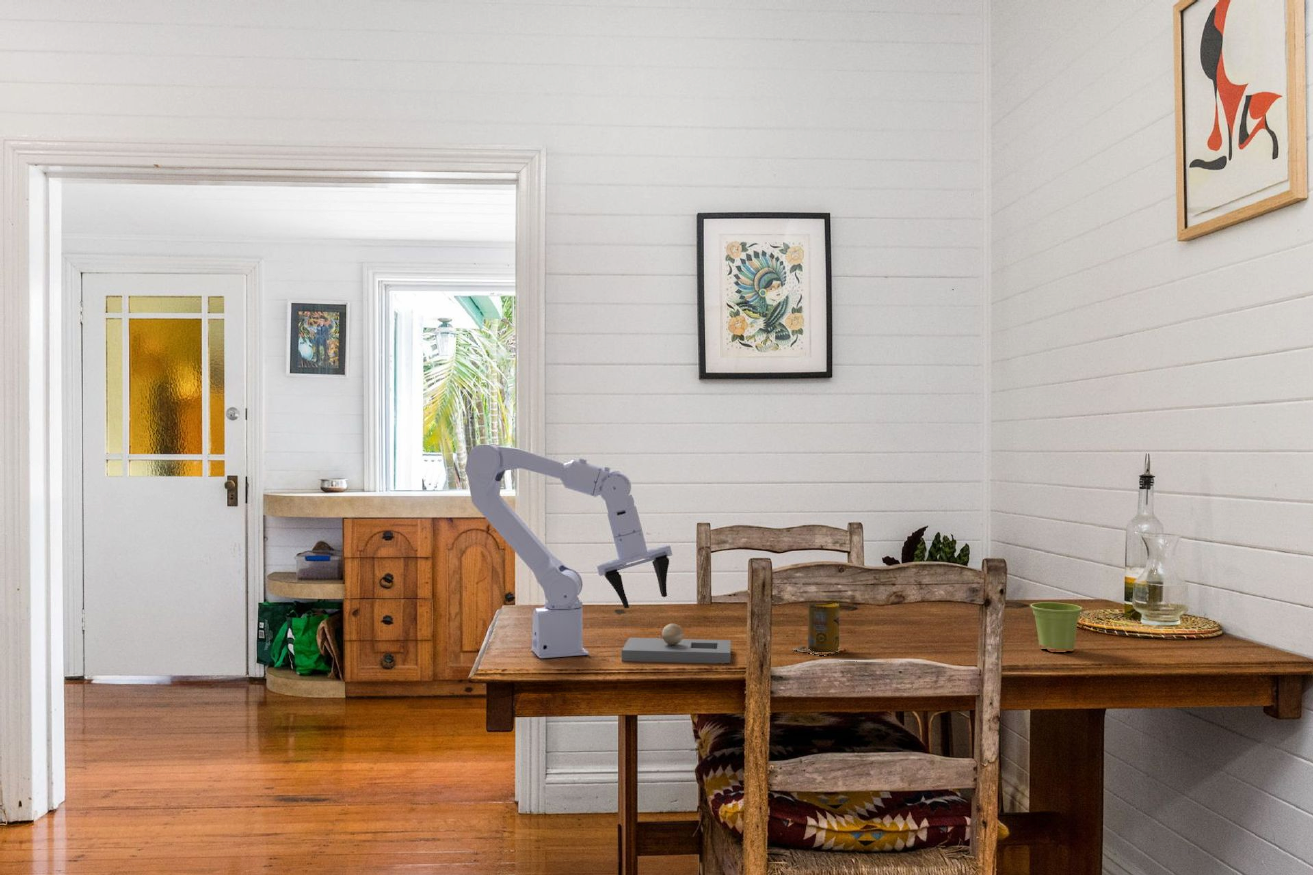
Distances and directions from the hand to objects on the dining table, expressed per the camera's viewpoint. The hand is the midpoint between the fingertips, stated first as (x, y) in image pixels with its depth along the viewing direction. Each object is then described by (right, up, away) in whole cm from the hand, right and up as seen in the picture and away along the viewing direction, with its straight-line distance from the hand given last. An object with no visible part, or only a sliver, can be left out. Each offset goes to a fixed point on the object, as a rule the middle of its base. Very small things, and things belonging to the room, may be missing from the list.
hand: (645, 601), depth 173 cm
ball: (+5, -6, -2) cm, 8 cm away
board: (+6, -10, -2) cm, 12 cm away
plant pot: (+81, -10, +4) cm, 81 cm away
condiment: (+34, -10, +3) cm, 36 cm away
